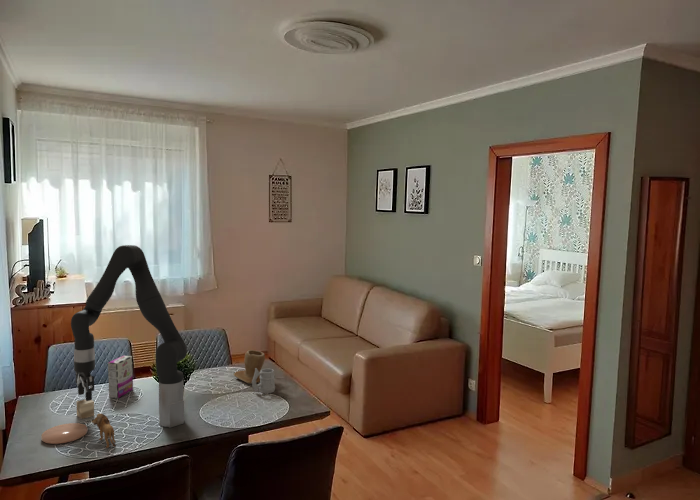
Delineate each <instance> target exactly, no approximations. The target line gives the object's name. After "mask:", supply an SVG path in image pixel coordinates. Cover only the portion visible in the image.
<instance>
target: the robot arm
mask: <svg viewBox="0 0 700 500" xmlns="http://www.w3.org/2000/svg"><path fill="white" fill-rule="evenodd" d="M127 269H128V271H130V274H131V276H132V278H133V281H134V284H135V286H134V287H135V300H136V304H137V306H138V308H139V310H140V312H141V315H142V316H143V317H144V319H145V320H146V321H147V322H149V324H151V325H152V326H153V327H154V328H155V329H156V330H157V331H158V332H159V333H160V336H161V337H162V340H163V343H161V344H159V345H158V346H157V348H156V350H155V370H156V375H157V377H158V414H159V415H158V417H159V418H158V421H159V422H158V424H159V426H161V427H165V428H173V427H176V426H180V425H182V424H185V400H184V373H183V371H181V370H178V363H180V362H181V361H183V360H184V359H185V358H186V357H187V355H188V349H187V344H186V343H185V340H184V339H183V337H182V335H181V334H180V332H179V331H178V329H177V327H176V325H175V323H174V322H173V320H172V317H171V315H170V313H169V311H168V309H167V306H166V304H165V301H164V300H163V298H162V295H161V293H160V291H159V289H158V287H157V284H156V282H155V280H154V278H153V276H152V274H151V273H152V272H151V271H150V268H149V265H148V261H147V258H146V255H145V252H143V250H142V249H141V248H140V246H137V245H134V244H121V245H119V246H118V247H116V249H115V250H114V251H113V253H112V255H111V257H110V260H109V262H108V264H107V266H106V268H105V270H104V272H103V274H102V275H101V277H100V279H99V281H98V282H97V284H96V285H95V287H94V288H93V290H92V291H91V292H90V294H89V295H88V297H87V298H86V301H85V306H84V307H83V309H82V310H80V311H78V312H76V313H74V314H73V315H72V317H71V319H70V327H71V332H72V334H73V337H74V352H73V371H74V372H75V384H76V386H77V395H79V396H82V395H84V394H85V395H84V397H85V400H86V401H89V400H93V391H95V376H94V375H92V374H91V372H92V371H94V370H95V369H96V359H95V358H96V354H95V353H96V352H95V336H94V334H93V333H91V332H90V326H93V325H94V324H95V323H96V322H97V320H98V319H99V318H100V316H101V313H102V311H103V309H104V308H105V307H106V305H107V304H108V302H109V300H110V299H111V297H112V296H113V294H114V291H115V288H116V283H117V282H118V280H119V278H120V277H121V275H122V274H123V273H124V272H125V271H126V270H127Z"/></svg>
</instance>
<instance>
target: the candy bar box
mask: <svg viewBox="0 0 700 500" xmlns="http://www.w3.org/2000/svg"><path fill="white" fill-rule="evenodd" d="M107 371H108V372H107V376H108V377H107V378H108V398H111V399H120V398H122V397H123V396H125V395H126V394H128V393H130V392H133V391H134V382H133V381H134V379H133V378H134V377H133V356H132V355H121V356H119V357H117V358H115V359H113V360H111V361H109V362H107Z"/></svg>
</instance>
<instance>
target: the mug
mask: <svg viewBox="0 0 700 500" xmlns="http://www.w3.org/2000/svg"><path fill="white" fill-rule="evenodd" d="M259 375H260V382H258V384H257V383H256V379H257V377H258V376H259ZM275 378H276V375H275V370H274V369H273V368H269V367H268V368H261V370H260V373H259V371H258V370H257V368H255V373H254V377H253V380H252V384H251V387H252V389H253V390H254V392H257V391H258V389H259V392H260V393H262V394H272V393H274V392H275V390H276V385H275Z"/></svg>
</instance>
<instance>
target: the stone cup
mask: <svg viewBox="0 0 700 500" xmlns="http://www.w3.org/2000/svg"><path fill="white" fill-rule="evenodd" d="M265 355H266V354H265V353H264V352H262V351H260V350H255V349H249V350H247V351H246V352H245V353H244V361H243V362H244V369H243V370H238V371H235V372H234V373H233V376H234V377H236V378H237V379H239V380H240V381H242V382H243V383H244V382H245V383H247V384H250V385H252V380H253V377H254V373H255V368H257V370H258V371H259V373H260V372H261V370H262V369H263V365H264V362H265V359H266V356H265ZM257 383H258V384H259V383H260V375H259V376H258V377H257V379H256V384H257Z"/></svg>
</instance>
